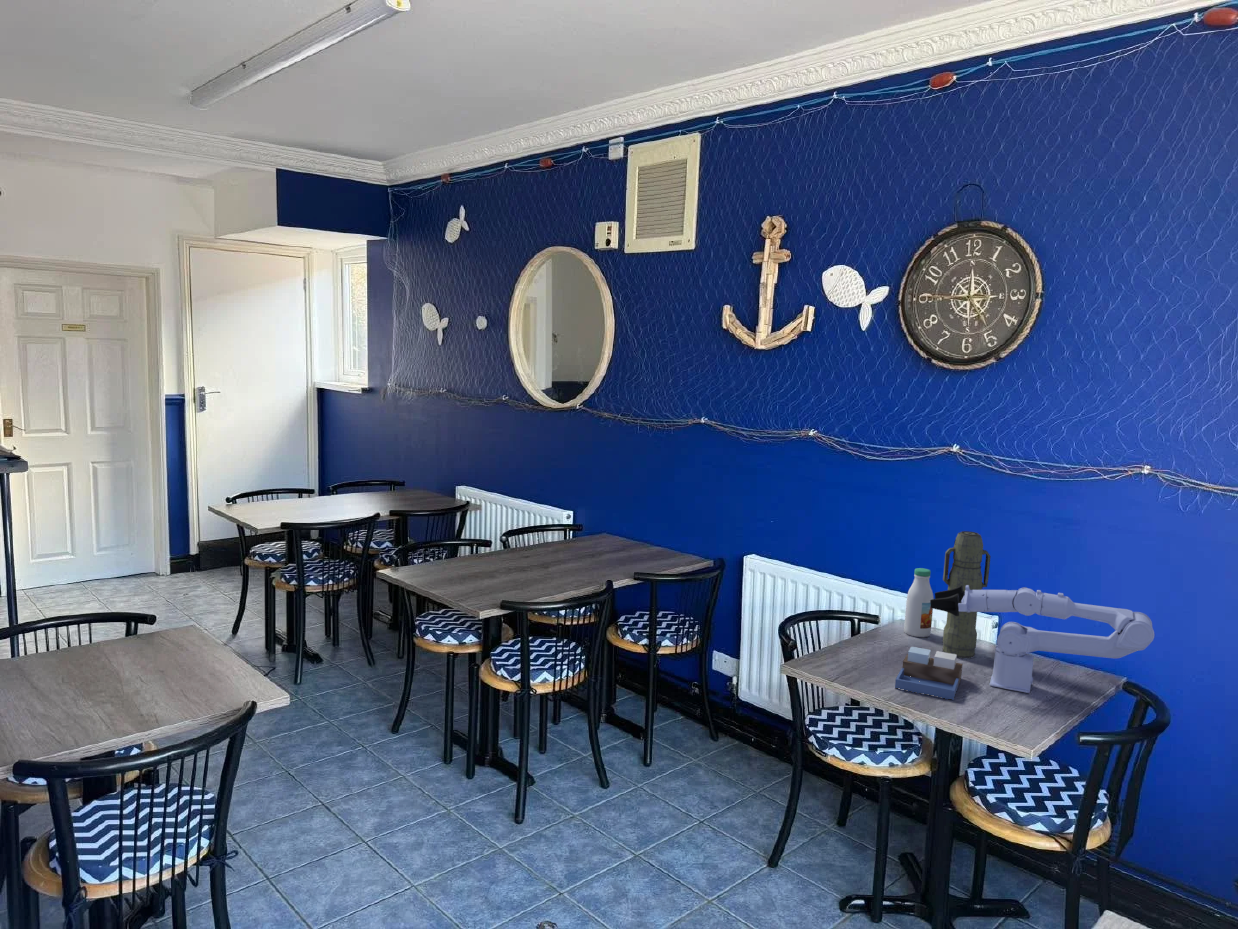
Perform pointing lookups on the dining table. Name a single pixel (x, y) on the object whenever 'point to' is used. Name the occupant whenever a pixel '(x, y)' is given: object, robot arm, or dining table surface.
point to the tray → (926, 686)
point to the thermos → (964, 572)
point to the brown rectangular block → (932, 671)
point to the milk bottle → (919, 605)
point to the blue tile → (919, 655)
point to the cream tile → (945, 660)
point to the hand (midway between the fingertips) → (932, 600)
